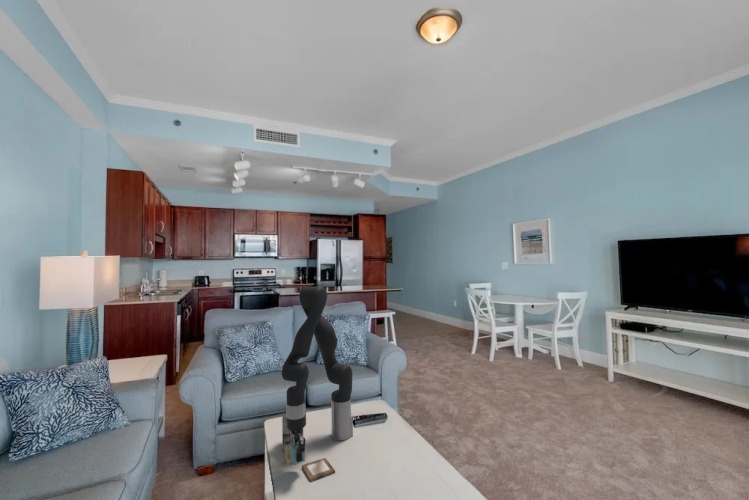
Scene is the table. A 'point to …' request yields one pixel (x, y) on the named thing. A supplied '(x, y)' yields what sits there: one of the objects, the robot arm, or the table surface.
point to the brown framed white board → (318, 469)
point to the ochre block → (287, 454)
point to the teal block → (293, 454)
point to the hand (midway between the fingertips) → (297, 457)
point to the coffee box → (285, 432)
